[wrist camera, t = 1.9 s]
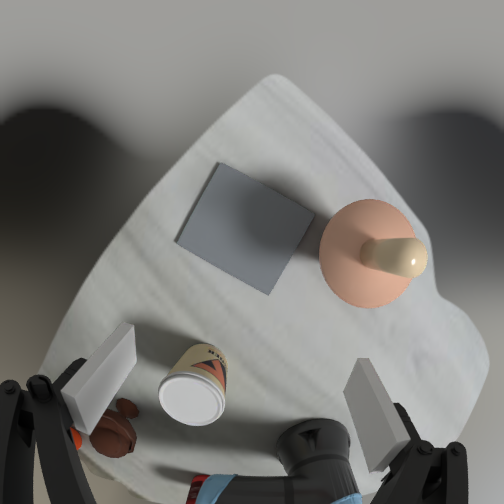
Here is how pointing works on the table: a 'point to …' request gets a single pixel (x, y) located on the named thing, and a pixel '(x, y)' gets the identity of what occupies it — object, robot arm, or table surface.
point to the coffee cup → (196, 386)
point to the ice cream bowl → (115, 430)
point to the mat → (245, 228)
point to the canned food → (195, 488)
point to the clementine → (76, 438)
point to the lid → (370, 253)
